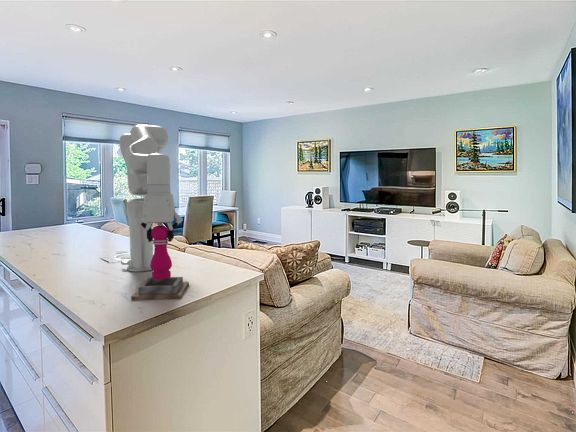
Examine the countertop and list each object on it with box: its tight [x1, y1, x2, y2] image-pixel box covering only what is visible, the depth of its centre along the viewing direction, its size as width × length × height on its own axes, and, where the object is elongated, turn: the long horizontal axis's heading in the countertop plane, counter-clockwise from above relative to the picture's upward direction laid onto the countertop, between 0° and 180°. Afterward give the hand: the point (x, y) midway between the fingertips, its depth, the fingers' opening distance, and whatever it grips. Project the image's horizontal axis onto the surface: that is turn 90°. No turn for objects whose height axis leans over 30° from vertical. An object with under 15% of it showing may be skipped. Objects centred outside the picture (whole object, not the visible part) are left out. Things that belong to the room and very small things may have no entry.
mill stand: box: [130, 276, 190, 301], centre depth 125 cm, size 16×16×4 cm
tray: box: [114, 250, 154, 261], centre depth 182 cm, size 20×28×4 cm
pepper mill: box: [150, 223, 173, 279], centre depth 123 cm, size 7×7×20 cm
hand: (160, 240), depth 123 cm, fingers closed on pepper mill, 6 cm apart
